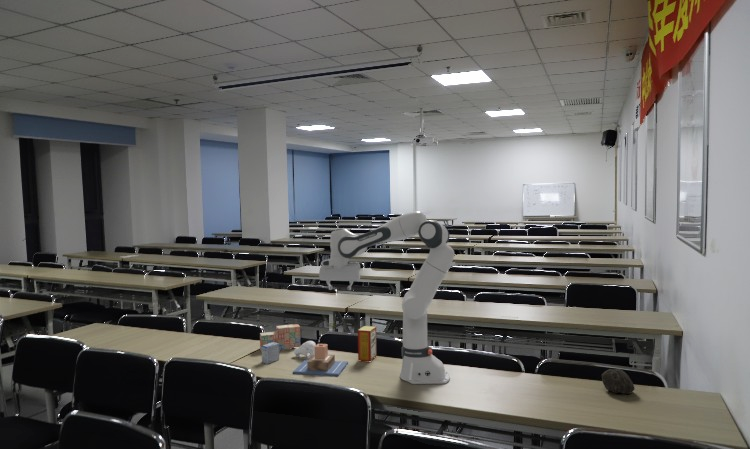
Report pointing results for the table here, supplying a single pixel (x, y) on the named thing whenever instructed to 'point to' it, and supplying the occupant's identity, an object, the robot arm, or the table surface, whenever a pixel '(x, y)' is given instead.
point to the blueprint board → (312, 372)
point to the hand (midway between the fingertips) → (339, 289)
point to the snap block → (321, 351)
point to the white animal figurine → (306, 349)
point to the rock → (617, 381)
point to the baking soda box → (367, 343)
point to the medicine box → (270, 352)
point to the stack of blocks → (282, 337)
